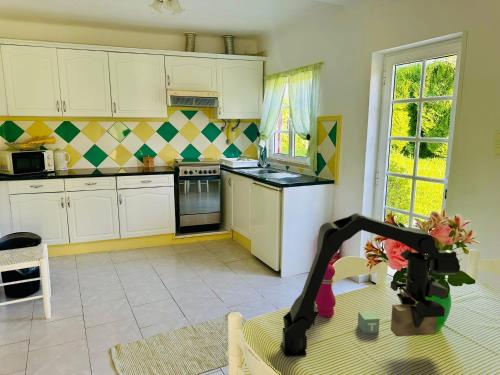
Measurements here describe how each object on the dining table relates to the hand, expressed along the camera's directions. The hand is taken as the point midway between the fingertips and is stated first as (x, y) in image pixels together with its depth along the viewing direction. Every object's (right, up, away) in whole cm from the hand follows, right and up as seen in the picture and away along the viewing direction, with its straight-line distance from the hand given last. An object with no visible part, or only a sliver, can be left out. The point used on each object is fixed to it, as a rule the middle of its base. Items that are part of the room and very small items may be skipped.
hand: (413, 323), depth 103 cm
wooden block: (0, -3, 0) cm, 3 cm away
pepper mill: (-21, -5, +23) cm, 32 cm away
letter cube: (-9, -7, +13) cm, 17 cm away
